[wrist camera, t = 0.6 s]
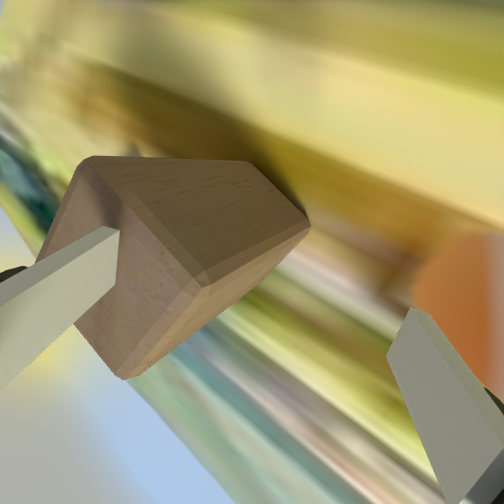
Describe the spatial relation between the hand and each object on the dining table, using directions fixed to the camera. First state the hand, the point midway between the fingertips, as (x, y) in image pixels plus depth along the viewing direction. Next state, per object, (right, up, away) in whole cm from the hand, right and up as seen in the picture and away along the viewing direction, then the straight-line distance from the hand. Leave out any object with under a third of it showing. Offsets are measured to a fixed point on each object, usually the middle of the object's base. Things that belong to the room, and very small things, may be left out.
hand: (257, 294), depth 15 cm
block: (0, +5, +21) cm, 22 cm away
